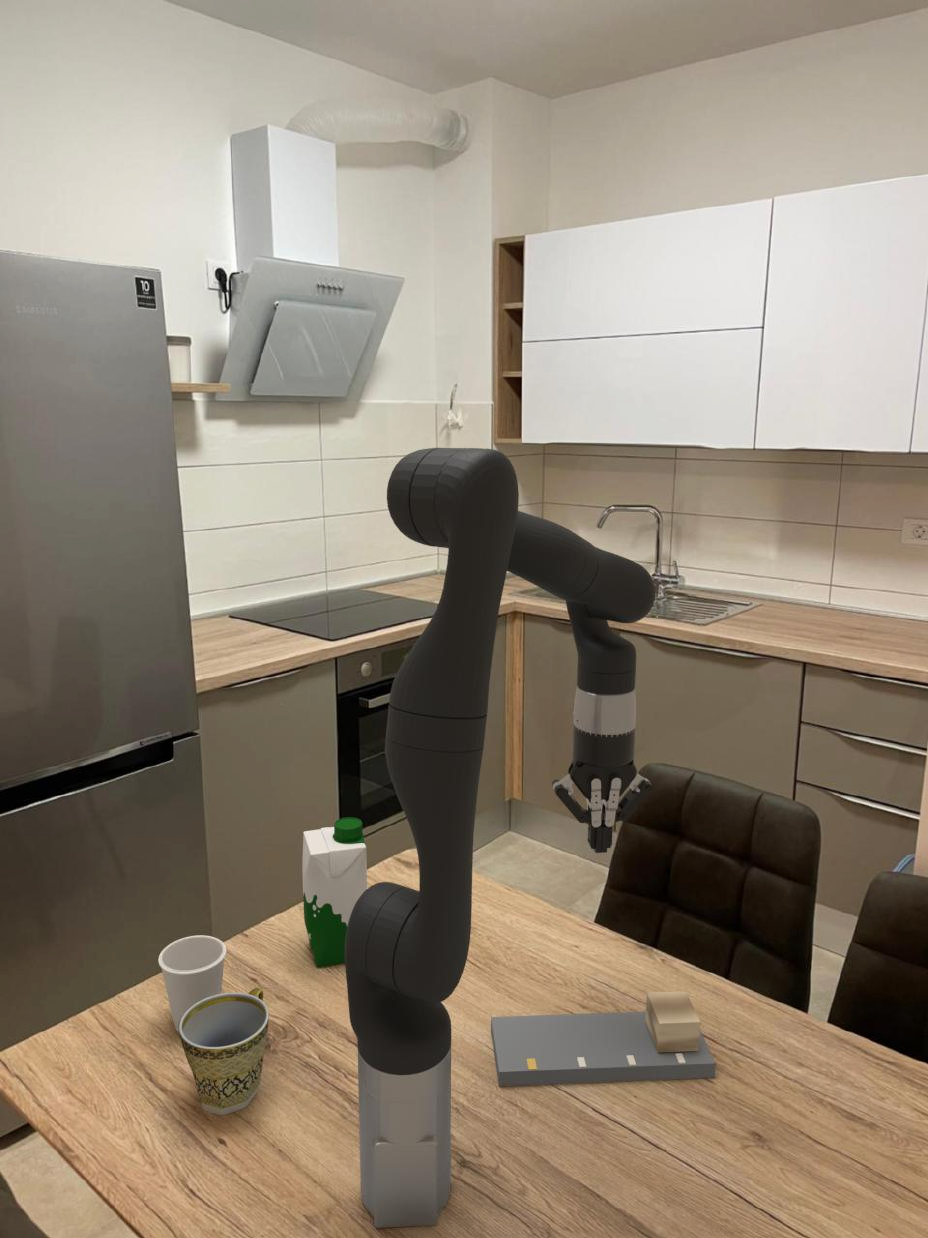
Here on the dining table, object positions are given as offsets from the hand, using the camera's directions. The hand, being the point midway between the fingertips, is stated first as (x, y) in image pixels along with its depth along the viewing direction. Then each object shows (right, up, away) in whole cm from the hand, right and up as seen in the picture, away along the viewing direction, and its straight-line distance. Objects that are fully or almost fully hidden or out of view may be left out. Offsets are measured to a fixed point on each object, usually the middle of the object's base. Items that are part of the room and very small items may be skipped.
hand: (599, 850), depth 118 cm
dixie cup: (-52, -23, +3) cm, 57 cm away
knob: (+8, -22, -3) cm, 24 cm away
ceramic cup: (-44, -26, -9) cm, 52 cm away
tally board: (-1, -25, -3) cm, 25 cm away
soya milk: (-36, -20, +18) cm, 45 cm away
